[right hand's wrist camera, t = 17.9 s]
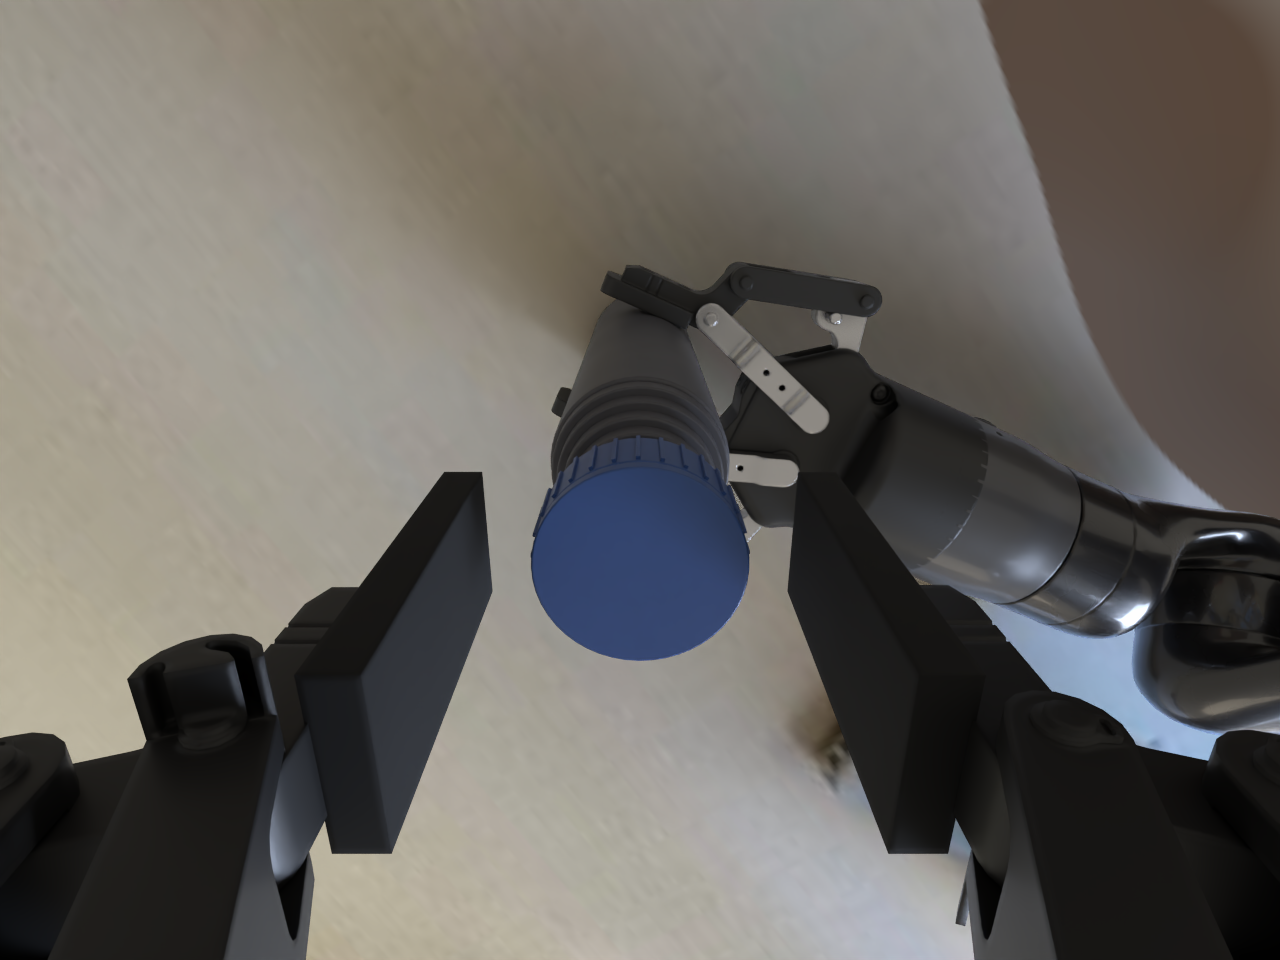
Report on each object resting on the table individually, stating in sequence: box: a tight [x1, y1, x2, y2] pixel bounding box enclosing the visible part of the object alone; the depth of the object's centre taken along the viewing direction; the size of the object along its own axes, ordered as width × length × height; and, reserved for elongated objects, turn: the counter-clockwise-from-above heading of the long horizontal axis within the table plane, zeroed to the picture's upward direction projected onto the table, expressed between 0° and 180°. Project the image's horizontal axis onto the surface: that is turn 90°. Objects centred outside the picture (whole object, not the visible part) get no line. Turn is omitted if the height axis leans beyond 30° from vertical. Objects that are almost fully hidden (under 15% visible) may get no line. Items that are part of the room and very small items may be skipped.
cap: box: [531, 435, 750, 661], centre depth 14 cm, size 4×4×2 cm
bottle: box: [551, 299, 730, 486], centre depth 24 cm, size 5×5×24 cm
